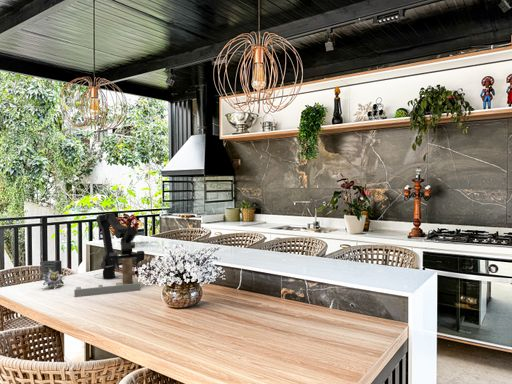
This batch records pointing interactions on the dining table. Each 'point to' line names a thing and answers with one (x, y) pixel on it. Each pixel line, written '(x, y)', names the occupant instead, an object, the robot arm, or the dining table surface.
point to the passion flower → (52, 279)
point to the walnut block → (127, 271)
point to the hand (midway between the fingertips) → (127, 269)
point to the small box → (51, 267)
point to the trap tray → (106, 289)
